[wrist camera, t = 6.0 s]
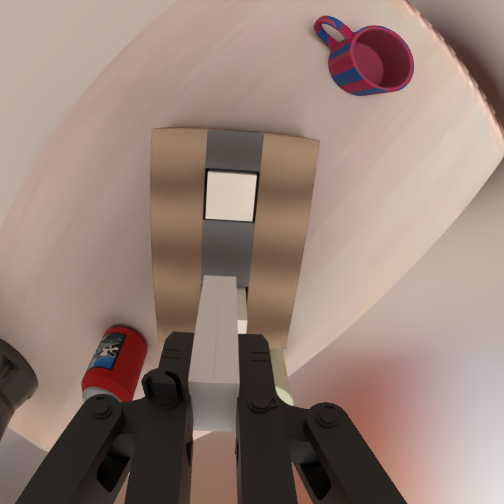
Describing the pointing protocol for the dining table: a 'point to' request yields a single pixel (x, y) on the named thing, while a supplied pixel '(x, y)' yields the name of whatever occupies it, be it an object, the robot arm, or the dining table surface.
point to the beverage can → (115, 365)
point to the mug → (367, 58)
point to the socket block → (229, 224)
